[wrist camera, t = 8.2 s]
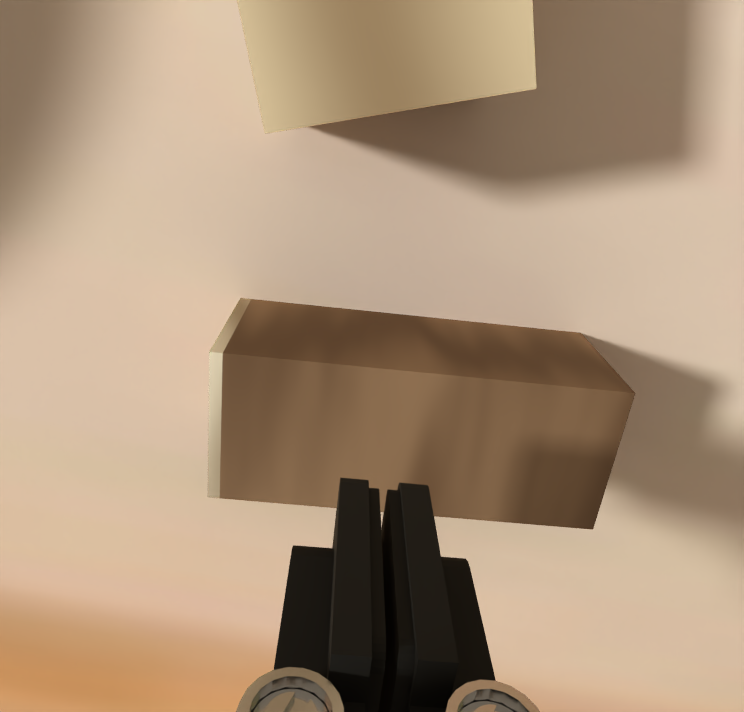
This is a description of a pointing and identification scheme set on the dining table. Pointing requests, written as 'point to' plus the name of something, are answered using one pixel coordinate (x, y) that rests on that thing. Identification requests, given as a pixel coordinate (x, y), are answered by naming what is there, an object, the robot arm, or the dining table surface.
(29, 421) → the dining table surface
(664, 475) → the dining table surface
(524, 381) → the walnut block
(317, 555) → the robot arm
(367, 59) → the maple cube
